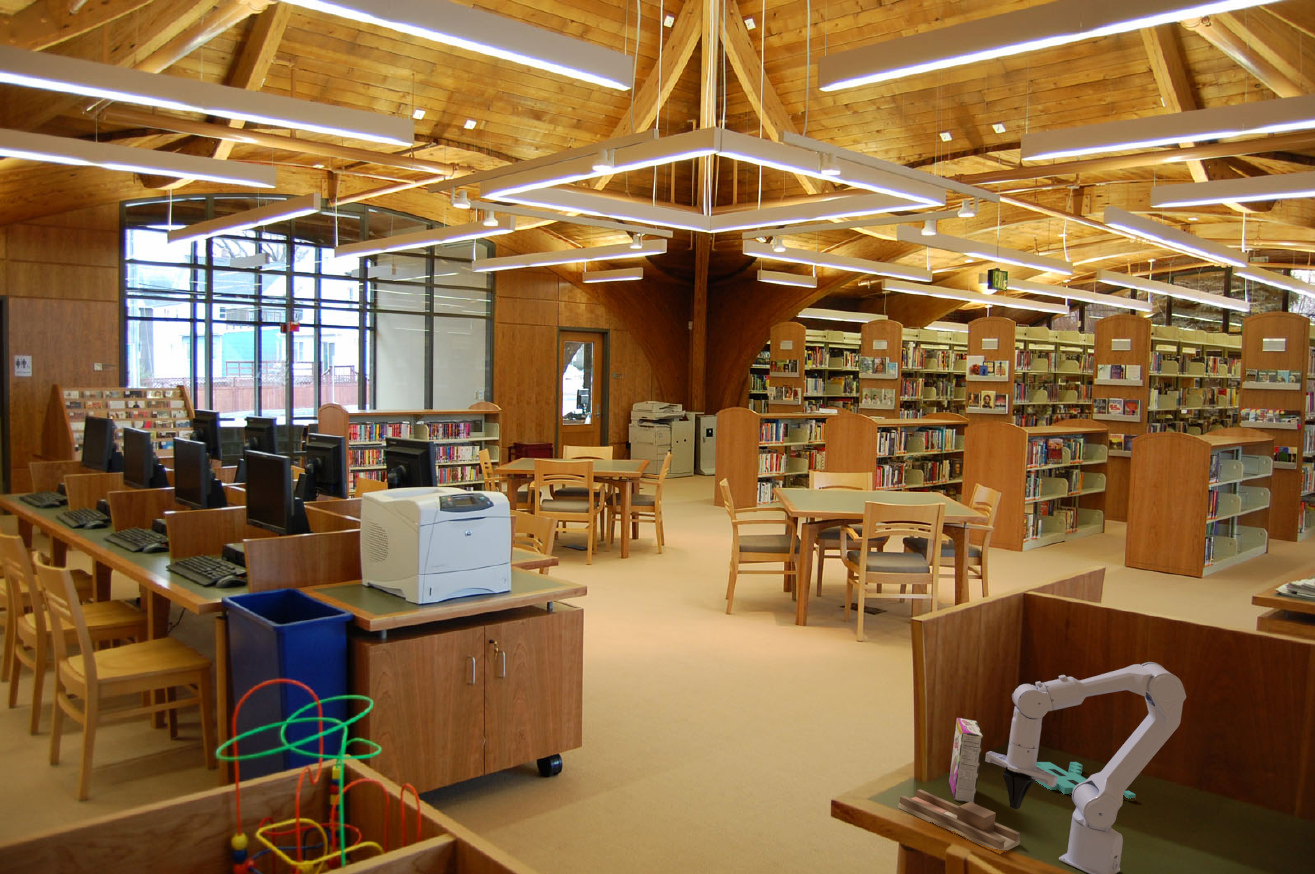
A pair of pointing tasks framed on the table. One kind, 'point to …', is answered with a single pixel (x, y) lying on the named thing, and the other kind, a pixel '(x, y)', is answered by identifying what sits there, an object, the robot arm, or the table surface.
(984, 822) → the walnut block
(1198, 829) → the table surface
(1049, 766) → the alien figure
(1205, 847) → the table surface
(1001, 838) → the chute
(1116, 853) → the robot arm
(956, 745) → the candy bar box
